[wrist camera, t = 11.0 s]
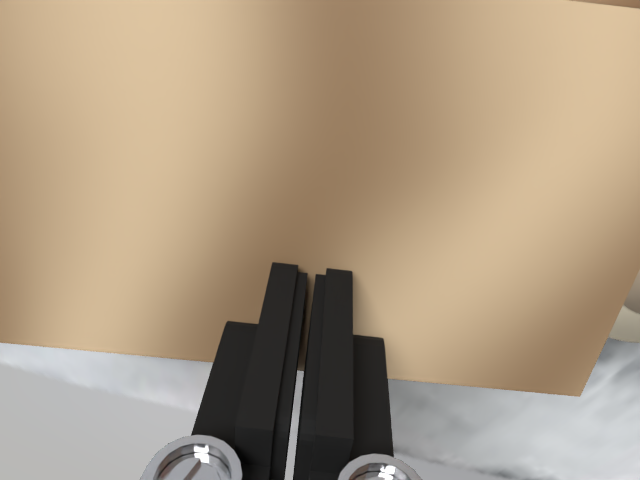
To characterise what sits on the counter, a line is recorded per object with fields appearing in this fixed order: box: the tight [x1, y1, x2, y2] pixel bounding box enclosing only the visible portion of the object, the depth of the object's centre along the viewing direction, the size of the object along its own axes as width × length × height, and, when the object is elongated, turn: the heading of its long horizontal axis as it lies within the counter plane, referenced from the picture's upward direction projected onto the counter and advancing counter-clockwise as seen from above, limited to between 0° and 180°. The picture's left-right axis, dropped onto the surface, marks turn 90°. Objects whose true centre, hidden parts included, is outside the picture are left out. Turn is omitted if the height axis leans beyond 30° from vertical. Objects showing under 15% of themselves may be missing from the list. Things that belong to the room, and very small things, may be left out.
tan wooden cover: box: [0, 0, 640, 397], centre depth 10 cm, size 14×8×1 cm, turn 84°
